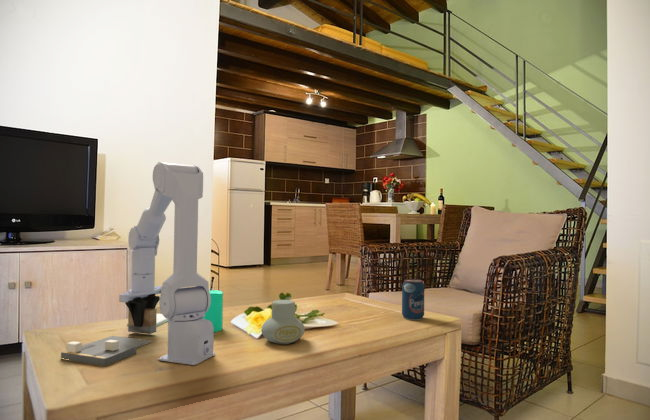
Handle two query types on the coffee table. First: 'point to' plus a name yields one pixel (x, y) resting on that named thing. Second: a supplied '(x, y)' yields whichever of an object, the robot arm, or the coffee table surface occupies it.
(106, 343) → the tab
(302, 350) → the coffee table surface
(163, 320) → the external hard drive
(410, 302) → the soda can
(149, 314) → the bar
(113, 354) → the switch board
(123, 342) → the tool pad
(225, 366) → the coffee table surface
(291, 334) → the air freshener
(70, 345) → the tab
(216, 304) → the candle
